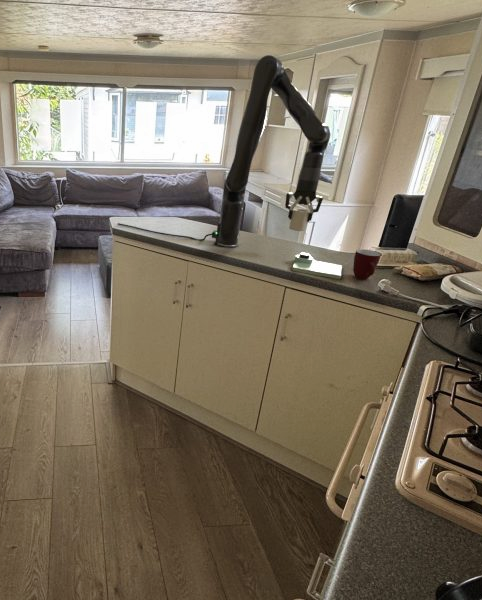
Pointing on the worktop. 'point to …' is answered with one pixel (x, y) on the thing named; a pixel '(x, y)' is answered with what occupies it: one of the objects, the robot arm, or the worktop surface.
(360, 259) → the mug
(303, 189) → the robot arm
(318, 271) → the scale
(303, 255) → the tare button
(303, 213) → the cream cup
